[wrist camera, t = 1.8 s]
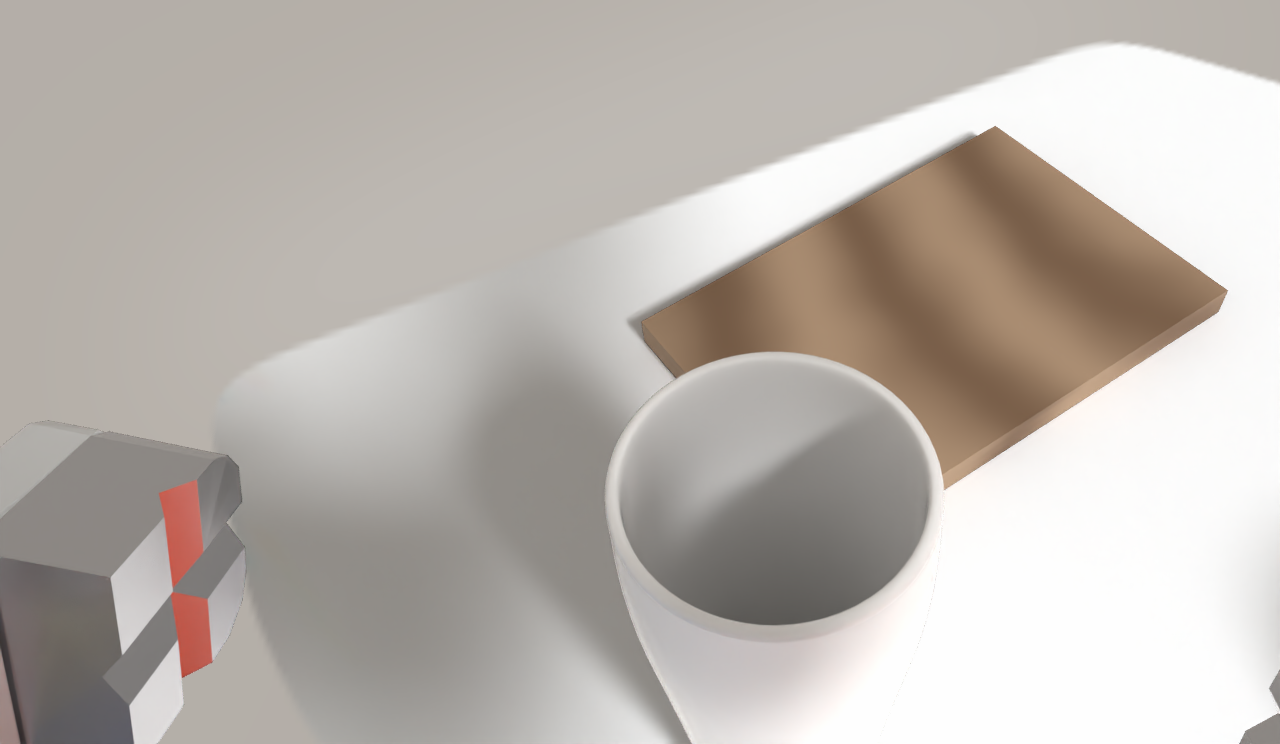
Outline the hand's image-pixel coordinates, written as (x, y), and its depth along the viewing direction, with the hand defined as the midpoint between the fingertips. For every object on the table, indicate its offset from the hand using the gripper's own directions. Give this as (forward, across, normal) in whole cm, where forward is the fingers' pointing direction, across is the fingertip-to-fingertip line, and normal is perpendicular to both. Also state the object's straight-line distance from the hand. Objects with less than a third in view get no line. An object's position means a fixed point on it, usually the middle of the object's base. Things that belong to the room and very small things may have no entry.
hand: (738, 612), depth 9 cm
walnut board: (+32, -8, +12) cm, 35 cm away
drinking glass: (+18, -4, +20) cm, 27 cm away
